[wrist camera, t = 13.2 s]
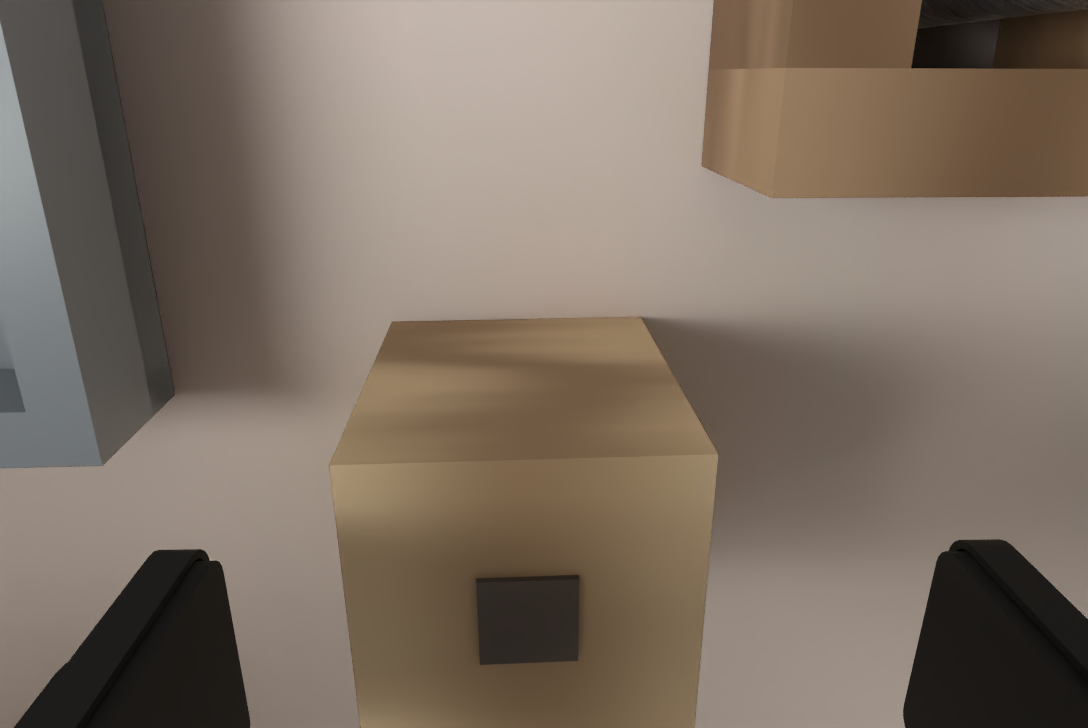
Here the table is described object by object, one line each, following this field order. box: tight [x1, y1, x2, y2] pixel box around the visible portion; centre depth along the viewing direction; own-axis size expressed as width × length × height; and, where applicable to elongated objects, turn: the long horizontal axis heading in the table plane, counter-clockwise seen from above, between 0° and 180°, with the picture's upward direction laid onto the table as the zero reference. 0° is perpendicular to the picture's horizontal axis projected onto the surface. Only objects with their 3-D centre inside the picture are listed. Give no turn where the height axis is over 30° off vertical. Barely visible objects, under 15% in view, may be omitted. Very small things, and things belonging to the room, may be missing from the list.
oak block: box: [329, 317, 718, 728], centre depth 13 cm, size 5×5×6 cm
